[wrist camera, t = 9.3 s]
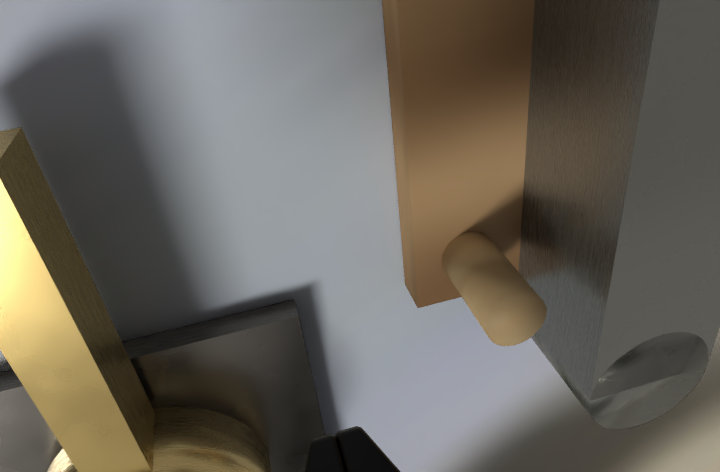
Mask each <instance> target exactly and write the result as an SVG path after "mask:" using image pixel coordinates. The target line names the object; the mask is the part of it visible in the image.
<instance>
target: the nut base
mask: <svg viewBox="0 0 720 472" xmlns="http://www.w3.org/2000/svg"><path fill="white" fill-rule="evenodd" d="M122 344H123V346H124V348H125V350H126V352H127V354H128V356H129V358H130V361H131V363H132V365H133V367H134V369H135V371H136V373H137V376H138V378H139V380H140V382H141V384H142V386H143V388H144V391H145V393H146V395H147V397H148V399H149V401H150V403H151V406H152V408H158V407H194V408H201V409H207V410H211V411H215V412H219V413H222V414H225V415H228V416H230V417H233V418H235V419H237V420H239V421H241V422H242V423H244V424H245V425H247V426H248V427H250V428H251V429H252V430H253V431H254V432H255V433H256V434H257V435H258V436H259V437H260V438H261V440H262V441H263V443H264V444H265V446H266V449H267V451H268V454H269V459H270V465H271V472H305V467H306V461H307V456H308V450H309V445H310V442H311V441H312V440H313V439H314V438H318V437H321V436H324V435H325V432H324V428H323V423H322V419H321V414H320V410H319V405H318V401H317V396H316V392H315V387H314V383H313V378H312V374H311V369H310V365H309V360H308V356H307V351H306V347H305V342H304V338H303V333H302V329H301V324H300V320H299V315H298V312H297V308H296V304H295V300H290V301H286V302H282V303H278V304H274V305H270V306H266V307H262V308H258V309H254V310H250V311H246V312H242V313H238V314H234V315H230V316H226V317H222V318H218V319H214V320H210V321H206V322H202V323H198V324H194V325H190V326H186V327H182V328H178V329H174V330H170V331H165V332H161V333H157V334H153V335H149V336H145V337H141V338H137V339H133V340H129V341H125V342H122ZM62 449H63V447H62V446H61V444H60V443H59V441H58V440H57V438H56V436H55V435H54V433H53V432H52V430H51V429H50V427H49V425H48V424H47V422H46V421H45V419H44V418H43V416H42V414H41V413H40V411H39V410H38V408H37V407H36V405H35V403H34V402H33V400H32V399H31V397H30V396H29V394H28V392H27V391H26V389H25V388H24V386H23V385H22V383H21V381H20V380H19V378H18V377H17V375H16V374H15V372H14V371H13V370H9V371H5V372H1V373H0V472H48V469H49V467H50V465H51V463H52V462H53V460H54V458H55V457H56V456H57V455H58V454H59V452H60V451H61V450H62Z"/></svg>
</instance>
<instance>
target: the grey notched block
mask: <svg viewBox="0 0 720 472" xmlns="http://www.w3.org/2000/svg"><path fill="white" fill-rule="evenodd" d="M519 273H520V274H521V275H522V277H523V278H524V279H525V280H526V281H527V282H528V284H529V285H530V286H531V287H532V288H533V290H534V291H535V292H536V293H537V294H538V295H539V297H540V298H541V299H542V300H543V301H544V303H545V305H546V308H547V315H546V319H545V321H544V323H543V325H542V326H541V328H540V329H539V330H538V331H537V332H536V333H535V334H534V335H533V336H532V337H531V338H532V339H533V341H534V342H535V343H536V344H537V346H538V347H539V348H540V350H541V351H542V352H543V354H544V355H545V356H546V358H547V359H548V360H549V362H550V363H551V364H552V366H553V367H554V368H555V370H556V371H557V372H558V374H559V375H560V376H561V378H562V379H563V380H564V382H565V383H566V384H567V386H568V387H569V388H570V389H571V391H572V392H573V393H574V395H575V396H576V397H577V399H578V400H579V401H580V403H581V404H582V405H583V407H584V408H585V409H586V411H587V412H588V413H589V415H590V416H591V417H592V419H593V420H594V421H595V422H596V423H597V424H599V425H600V426H602V427H605V428H609V429H626V428H632V427H636V426H639V425H642V424H645V423H647V422H649V421H652V420H654V419H656V418H658V417H660V416H661V415H663V414H665V413H666V412H668V411H669V410H671V409H672V408H673V407H675V406H676V405H677V404H678V403H680V402H681V401H682V400H683V399H684V398H685V397H686V396H687V395H688V394H689V393H690V392H691V391H692V390H693V388H694V387H695V386H696V385H697V383H698V382H699V380H700V379H701V377H702V375H703V373H704V371H705V369H706V366H707V363H708V360H709V357H710V354H711V351H712V348H713V345H714V342H715V339H716V336H717V333H718V330H719V327H720V0H535V4H534V21H533V38H532V54H531V71H530V88H529V105H528V121H527V138H526V155H525V172H524V188H523V205H522V222H521V238H520V255H519Z"/></svg>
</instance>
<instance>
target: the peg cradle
mask: <svg viewBox="0 0 720 472" xmlns="http://www.w3.org/2000/svg"><path fill="white" fill-rule="evenodd" d="M534 4H535V0H382V6H383V18H384V30H385V43H386V55H387V67H388V80H389V92H390V104H391V116H392V129H393V141H394V153H395V165H396V178H397V190H398V202H399V215H400V227H401V239H402V251H403V264H404V276H405V285H406V287H407V289H408V291H409V293H410V294H411V296H412V298H413V300H414V302H415V304H416V305H417V307H418V308H420V307H424V306H428V305H431V304H435V303H439V302H443V301H447V300H451V299H455V298H458V297H462V298H463V299H464V301H465V302H466V304H467V305H468V307H469V308H470V310H471V311H472V313H473V314H474V316H475V317H476V319H477V320H478V322H479V323H480V325H481V326H482V328H483V329H484V331H485V332H486V334H487V336H488V337H489V338H490V340H491V341H492V342H493V343H495V344H497V345H501V346H512V345H516V344H519V343H522V342H524V341H526V340H527V339H529V338H530V337H532V336H533V335H534V334H535V333H536V332H537V331H538V330H539V329H540V328H541V326H542V325H543V323H544V321H545V319H546V315H547V308H546V305H545V303H544V301H543V300H542V299H541V298H540V297H539V295H538V294H537V293H536V292H535V291H534V290H533V288H532V287H531V286H530V285H529V284H528V282H527V281H526V280H525V279H524V278H523V277H522V275H521V274H520V273H519V255H520V238H521V222H522V205H523V188H524V172H525V155H526V138H527V121H528V105H529V88H530V71H531V54H532V38H533V21H534Z"/></svg>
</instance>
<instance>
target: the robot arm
mask: <svg viewBox="0 0 720 472" xmlns="http://www.w3.org/2000/svg"><path fill="white" fill-rule="evenodd" d="M305 472H400V471H399V470H398V468H397V467H396V466H395V465H394V464H393V463H392V462H391V460H390V459H389V458H388V457H387V456H386V455H385V454H384V453H383V451H382V450H381V449H380V448H379V447H378V446H377V445H376V443H375V442H374V441H373V440H372V439H371V438H370V437H369V436H368V434H367V433H366V432H365V431H364V430H363V429H362V428H361V427H358V426H356V427H352V428H349V429H345V430H342V431H339V432H338V433H337V435H336V436H335V435H334V434H328V435H324V436H321V437H318V438H314V439H313V440H312V441H311V442H310V445H309V450H308V456H307V461H306V467H305Z"/></svg>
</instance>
